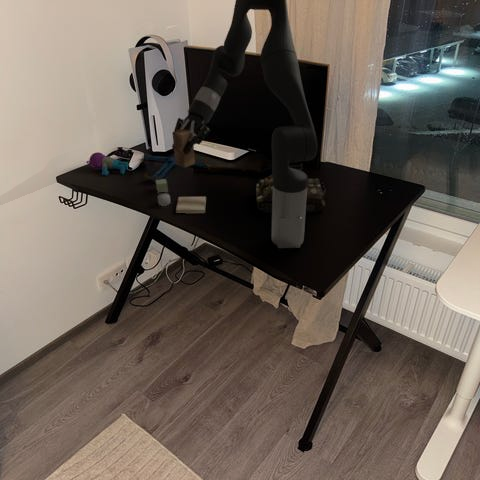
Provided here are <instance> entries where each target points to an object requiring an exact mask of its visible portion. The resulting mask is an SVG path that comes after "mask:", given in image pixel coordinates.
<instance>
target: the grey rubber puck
mask: <svg viewBox="0 0 480 480" xmlns="http://www.w3.org/2000/svg"><path fill="white" fill-rule="evenodd" d="M157 203H158V204H159V205H161V206H167V205H169V204H170V203H171V195H170V194H169V193H159V194H157ZM171 204H172V203H171ZM159 205H158V206H159Z"/></svg>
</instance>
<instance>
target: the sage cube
mask: <svg viewBox="0 0 480 480" xmlns="http://www.w3.org/2000/svg"><path fill="white" fill-rule="evenodd" d="M155 181H156V182H155V186H156V187H155V188H156V192H157V191H158V192H157V194H158V193H159V192H165V193H169V189H168V181H167V179H166V178H164V179H163V178H162V179H161V180H155ZM159 194H160V193H159Z"/></svg>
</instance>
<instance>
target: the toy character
mask: <svg viewBox="0 0 480 480" xmlns="http://www.w3.org/2000/svg"><path fill="white" fill-rule="evenodd" d="M143 155H144V160H145V161H154V160H155V161H161V162H163V161H164V163H163V165H161V167H159V169H158V170H157V171H156V172H155V173H153V174H152V175H151V176H149V175H148V174H147V173H144V174H142V175H143V177H144V178H145V181H146V182H153V183H156V181H155V180H161V179H163V178H165V176H167V175H168V173H169V172H170V170H171V169H172V168H173V169H174V168H175V167H176V166H177V165H176V161H175V153H174V154H173V155H172V156H171V157H168V156H156V155H155V156H154V155H152V154H149V153H144V154H143ZM192 166H193V167H196V166H197V167H198V166H201V167H212V166H211V164H208V163H207V162H198V161H195V164H193V165H192ZM201 167H200V168H201Z"/></svg>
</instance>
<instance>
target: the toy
mask: <svg viewBox="0 0 480 480" xmlns="http://www.w3.org/2000/svg"><path fill="white" fill-rule="evenodd" d="M86 164H88V165H89V166H90V167H91V168H92V169H94V170H96V171H102V172H101V176H108V175H109V174H110V171H108V170H115V169H117V170H119V172H120V174H121V175H124V174H125V172H126V171H128V170H129V169H128V165H129V166H130V164H129V162H128V161H121V160H119V159H116V158H113V157H111V156H109V155H108V156H106V155H104V154H103V153H101V152H99V151H98V152H94V153H92V154H91V155H90V157H89V160H87V161H86Z"/></svg>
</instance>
